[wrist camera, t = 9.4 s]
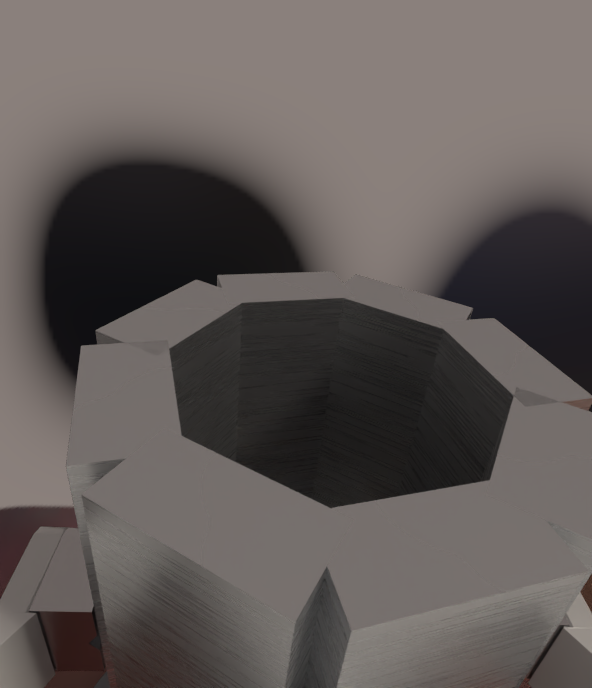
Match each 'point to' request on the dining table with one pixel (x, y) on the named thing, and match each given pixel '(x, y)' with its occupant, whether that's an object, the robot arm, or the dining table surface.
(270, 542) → the octagonal pipe segment
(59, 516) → the dining table surface
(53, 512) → the dining table surface
